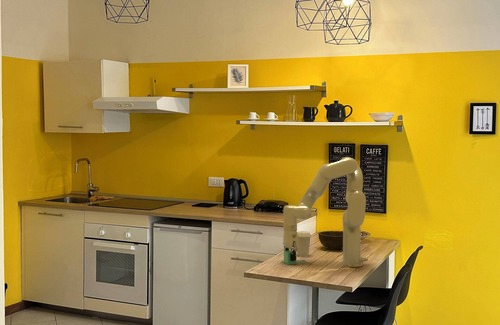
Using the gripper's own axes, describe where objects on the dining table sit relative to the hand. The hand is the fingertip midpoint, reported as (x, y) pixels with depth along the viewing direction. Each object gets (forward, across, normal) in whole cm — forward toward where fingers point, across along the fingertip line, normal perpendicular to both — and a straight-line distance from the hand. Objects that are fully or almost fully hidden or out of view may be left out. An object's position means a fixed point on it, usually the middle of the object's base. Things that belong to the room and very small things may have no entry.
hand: (290, 259), depth 324 cm
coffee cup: (+3, +16, -16) cm, 23 cm away
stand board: (+3, 0, -4) cm, 5 cm away
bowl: (+3, +32, -47) cm, 57 cm away
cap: (+2, 0, 0) cm, 2 cm away
